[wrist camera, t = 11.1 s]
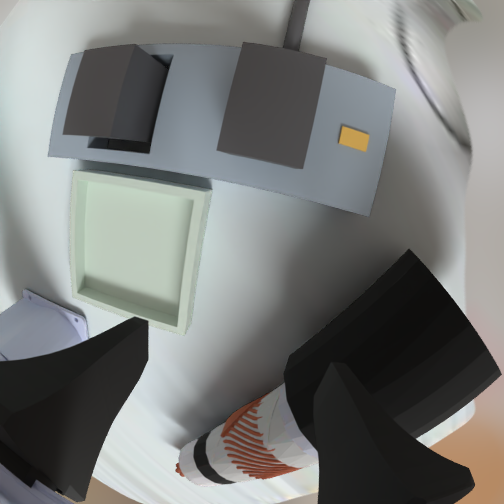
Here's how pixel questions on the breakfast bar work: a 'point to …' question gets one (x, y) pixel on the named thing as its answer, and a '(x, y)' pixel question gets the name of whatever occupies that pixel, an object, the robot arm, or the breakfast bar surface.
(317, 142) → the power strip
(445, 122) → the breakfast bar surface
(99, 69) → the plug
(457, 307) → the black white cylindrical piece
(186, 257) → the tray
